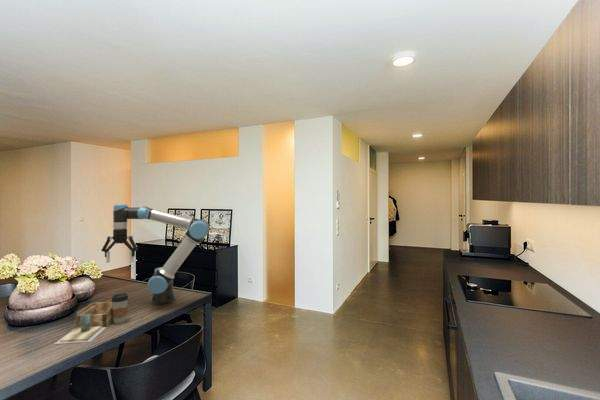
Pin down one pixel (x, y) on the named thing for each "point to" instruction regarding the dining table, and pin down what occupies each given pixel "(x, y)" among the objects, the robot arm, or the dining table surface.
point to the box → (97, 314)
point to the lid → (82, 331)
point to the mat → (82, 341)
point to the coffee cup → (119, 308)
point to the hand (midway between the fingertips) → (119, 262)
